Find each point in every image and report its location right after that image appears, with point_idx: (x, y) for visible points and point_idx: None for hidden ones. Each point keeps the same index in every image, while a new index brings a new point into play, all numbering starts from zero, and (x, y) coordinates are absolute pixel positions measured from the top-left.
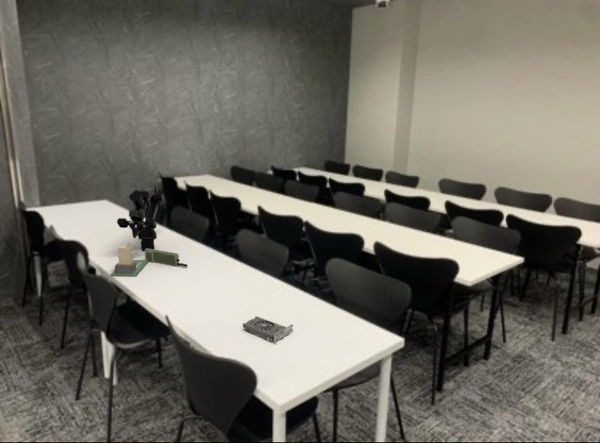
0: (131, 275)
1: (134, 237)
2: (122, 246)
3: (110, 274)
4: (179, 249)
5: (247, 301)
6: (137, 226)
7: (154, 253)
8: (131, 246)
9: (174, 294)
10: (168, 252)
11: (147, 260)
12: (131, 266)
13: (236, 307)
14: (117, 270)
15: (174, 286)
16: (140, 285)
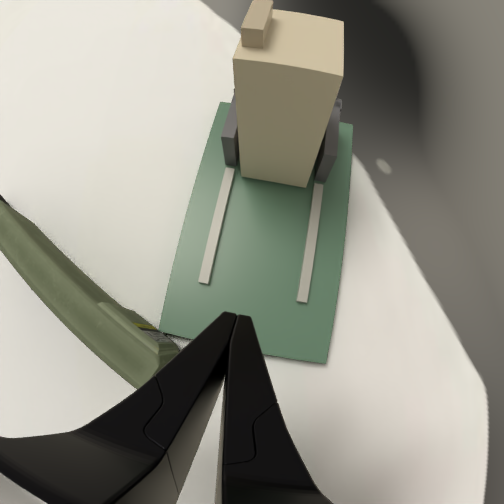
0: None
1: (227, 313)
2: (317, 40)
3: (352, 125)
4: None
5: (3, 27)
6: (111, 456)
7: (91, 295)
8: (236, 55)
9: (107, 13)
10: (9, 241)
11: (164, 323)
12: None
13: (30, 7)
14: None
15: (91, 46)
16: (199, 43)
